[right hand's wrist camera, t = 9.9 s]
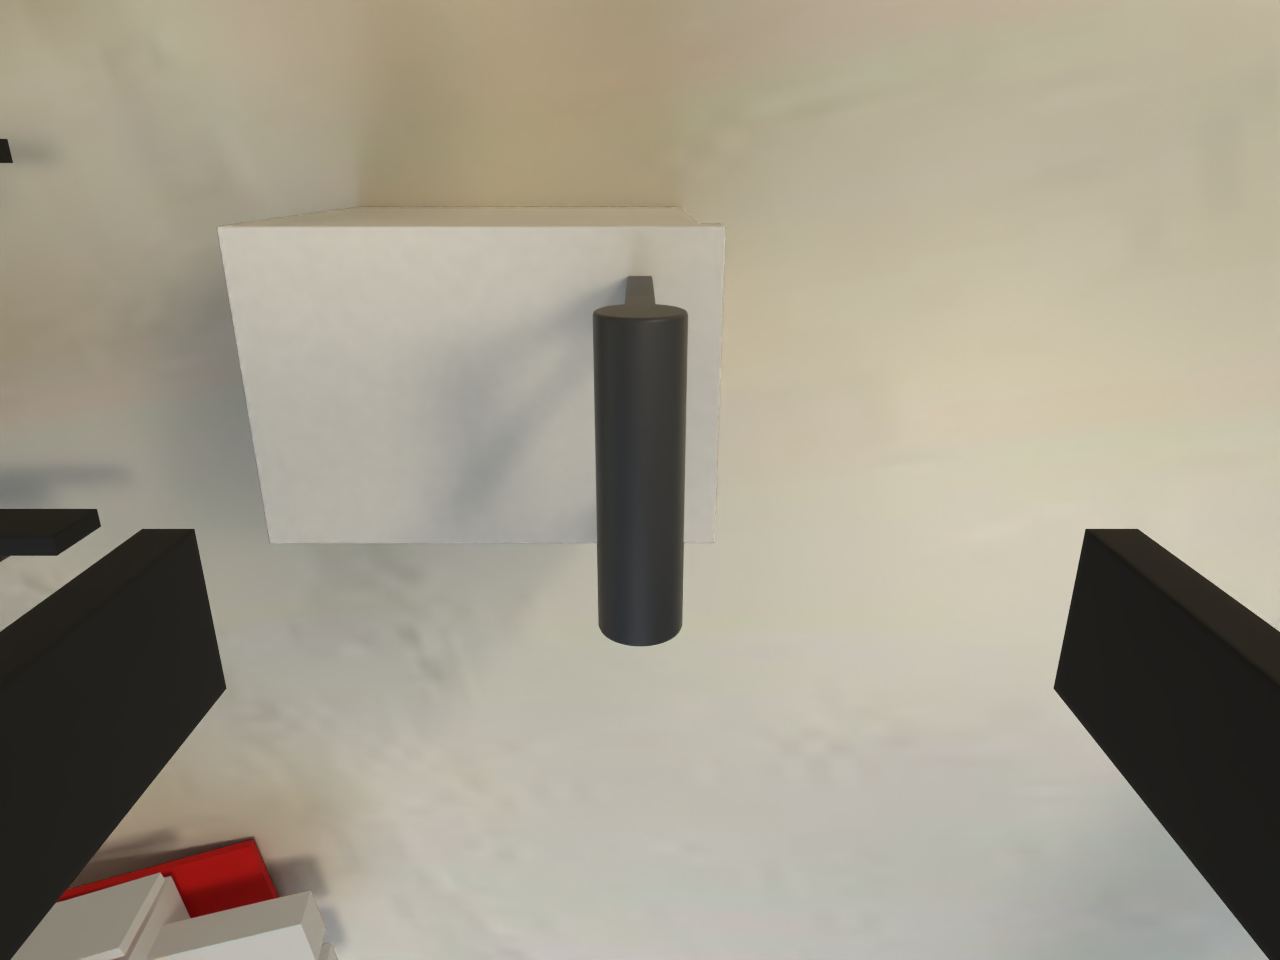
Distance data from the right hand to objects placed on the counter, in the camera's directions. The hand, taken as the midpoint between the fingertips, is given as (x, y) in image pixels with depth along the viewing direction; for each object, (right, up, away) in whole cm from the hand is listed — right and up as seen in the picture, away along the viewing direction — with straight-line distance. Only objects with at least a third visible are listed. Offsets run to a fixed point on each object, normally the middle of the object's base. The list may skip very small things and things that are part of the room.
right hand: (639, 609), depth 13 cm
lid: (-5, +5, +13) cm, 15 cm away
